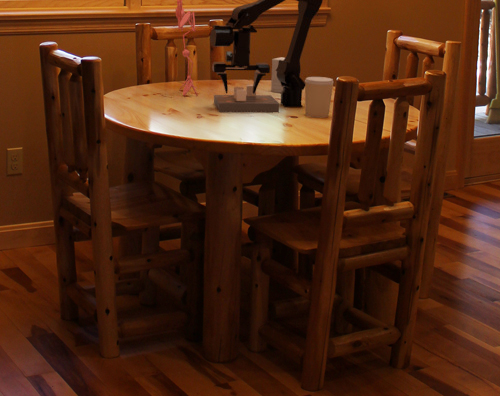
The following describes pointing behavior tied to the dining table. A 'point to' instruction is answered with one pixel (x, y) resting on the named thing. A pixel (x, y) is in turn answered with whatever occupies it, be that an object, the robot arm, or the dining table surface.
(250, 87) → the slider
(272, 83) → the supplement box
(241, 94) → the slider
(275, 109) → the switch unit
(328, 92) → the coffee cup
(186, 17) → the figurine
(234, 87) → the slider
